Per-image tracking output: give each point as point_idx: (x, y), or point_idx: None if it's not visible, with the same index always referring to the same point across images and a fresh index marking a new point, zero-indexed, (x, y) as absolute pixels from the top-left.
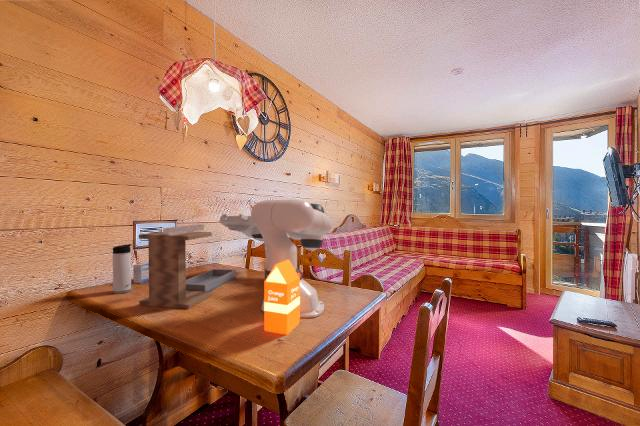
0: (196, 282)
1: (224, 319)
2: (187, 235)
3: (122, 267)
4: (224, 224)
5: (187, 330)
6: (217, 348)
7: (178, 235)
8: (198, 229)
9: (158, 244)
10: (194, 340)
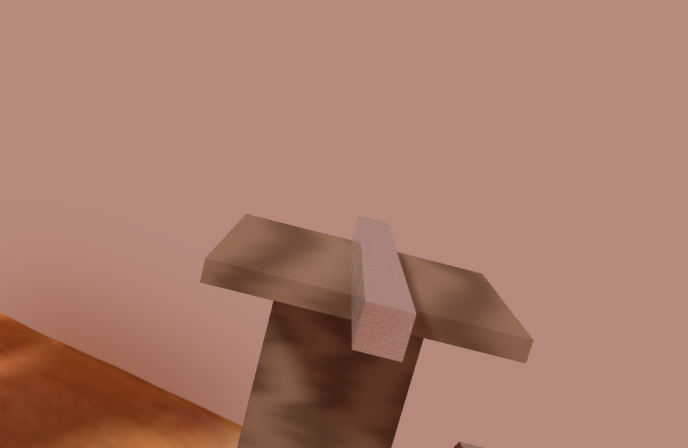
0: None
1: (27, 415)
2: (259, 220)
3: None
4: None
5: (127, 389)
6: (37, 333)
7: (297, 228)
8: (354, 311)
9: None
10: (95, 358)
